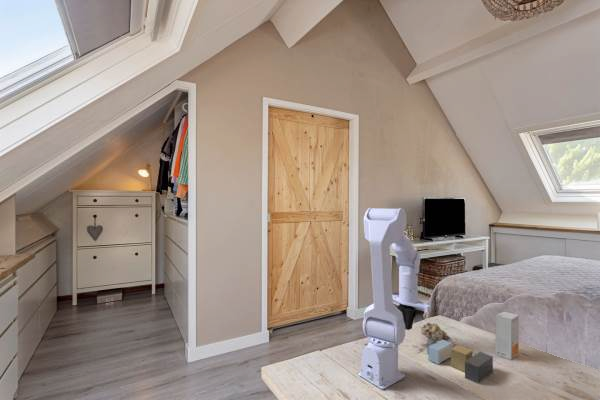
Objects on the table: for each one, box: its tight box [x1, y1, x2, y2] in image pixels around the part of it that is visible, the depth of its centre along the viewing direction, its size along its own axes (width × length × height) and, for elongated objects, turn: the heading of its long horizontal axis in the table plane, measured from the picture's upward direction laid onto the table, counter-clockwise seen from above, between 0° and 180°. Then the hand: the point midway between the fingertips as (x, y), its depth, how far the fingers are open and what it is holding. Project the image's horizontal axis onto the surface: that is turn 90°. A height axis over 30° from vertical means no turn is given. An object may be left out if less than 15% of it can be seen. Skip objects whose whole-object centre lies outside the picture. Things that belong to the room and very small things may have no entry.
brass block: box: [450, 344, 474, 374], centre depth 83 cm, size 4×4×5 cm
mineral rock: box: [420, 322, 448, 341], centre depth 105 cm, size 11×4×8 cm
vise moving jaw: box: [427, 337, 454, 365], centre depth 89 cm, size 8×6×4 cm
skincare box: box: [495, 311, 520, 360], centre depth 91 cm, size 6×4×12 cm
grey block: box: [464, 351, 494, 384], centre depth 80 cm, size 9×3×4 cm, turn 127°
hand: (408, 328), depth 97 cm, fingers closed
